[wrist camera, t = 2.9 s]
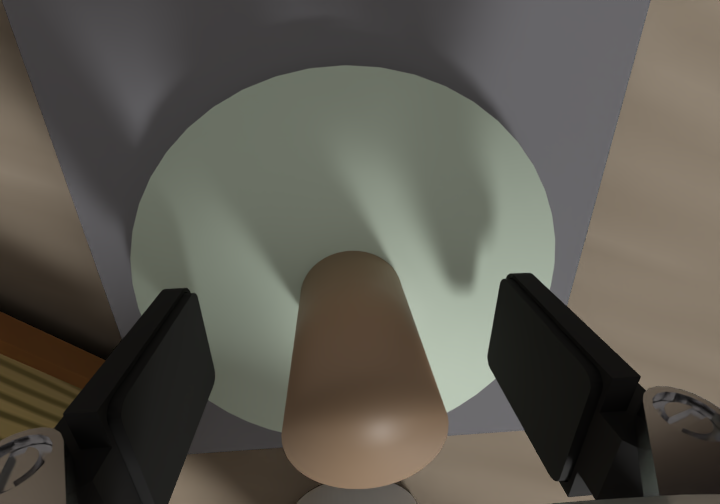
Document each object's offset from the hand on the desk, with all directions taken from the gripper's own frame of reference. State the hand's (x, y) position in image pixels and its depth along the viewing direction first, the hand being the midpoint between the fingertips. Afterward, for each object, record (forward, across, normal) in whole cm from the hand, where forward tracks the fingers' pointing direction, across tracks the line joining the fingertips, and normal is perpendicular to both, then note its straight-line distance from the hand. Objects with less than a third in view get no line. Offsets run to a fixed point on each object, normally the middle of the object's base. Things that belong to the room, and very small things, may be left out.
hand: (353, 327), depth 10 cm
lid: (+3, 0, 0) cm, 3 cm away
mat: (+3, 0, 0) cm, 3 cm away
